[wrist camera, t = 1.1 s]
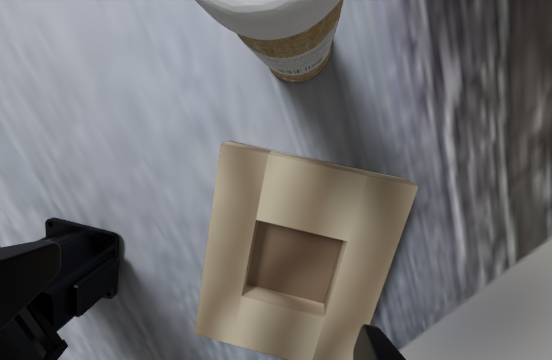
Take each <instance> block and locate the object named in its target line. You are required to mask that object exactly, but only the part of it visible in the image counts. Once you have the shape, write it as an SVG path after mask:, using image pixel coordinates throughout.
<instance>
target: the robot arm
mask: <svg viewBox="0 0 552 360" xmlns="http://www.w3.org/2000/svg"><path fill="white" fill-rule="evenodd" d="M45 227H46V237H44V238H42V239H40V240H38V241H35V242H29V243H24V244H18V245H13V246H7V247H2V248H1V247H0V360H57V359H58V358H59V357H60V356H61V354H62V353H63V352H64V351H65V349H66V348H67V347H68V345H67V343H66V342H65V340H62V339H61V338H60V336H59V335H58V333H57V331H58V330H59V329H61V328H62V327H63V326H64V325H65V324H66V323H67V322H69V321H70V320H71V319H72V318H73V317H74V316H76V317H80V316H81V315H83V314H84V313H85V312H86V311H87V310H88V309H90V308H91V307H92V306H93V305H94V304H95V303H96V302H97V301H99V300H100V299H101V298H102V297H104V298H108V299H112V298H113V297H114V296H115V295H116V294H117V283H118V263H119V260H118V251H119V237H118V235H117V234H116V233H114V232H110V231H106V230H102V229H98V228H94V227H90V226H86V225H82V224H78V223H74V222H70V221H66V220H62V219H58V218H51V219H48V220H46V223H45ZM111 238H112V239H113V240H112V239H111ZM353 360H406V359H405V358H404V357H403V356H402V354H401V353H400V352H399V351H398V350H397V348H396V347H395V346H394V345H393V344H392V343H391V341H390V340H389V339H388V338H387V337H386V335H385V334H384V333H383V332H382V331H381V330H380V329H379V328H378V327H375V326H372V325H368V324H364V325H362V327H361V329H360V332H359V334H358V337H357V340H356V343H355V346H354V350H353Z"/></svg>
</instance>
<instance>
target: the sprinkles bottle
mask: <svg viewBox="0 0 552 360" xmlns="http://www.w3.org/2000/svg"><path fill="white" fill-rule="evenodd" d="M195 1H196V2H197V3H198V4H199V5H200V6H201V7H202V8H203V9H204V10H205V11H206V12H207V13H208V14H210V15H211V16H212V17H213V18H214V19H215V20H216V21H218V22H219V23H220V24H221V25H223V26H224V27H226V28H227V29H229V30H231V31H233V32H235V33H237V35H238V36H239V38H240V39H241V40H242V41H243V42H244V43H245V44H246V45H247V46H248V47H249V48H250V49H251V50H252V51H253V52H254V53H255V54H256V56H257V57H259V58H260V59H261V60H262V61H263V62H264V63H265V64H266V65H267V66H268V67H269V68H270V69H271V71H272V72H273V73H274V74H275V75H276V76H278V77H279V78H281V79H283V80H285V81H289V82H301V81H306V80H308V79H310V78H312V77H314V76H316V75H317V74H318V73H319V72H320V71H321V69H323V68H324V66H325V65H326V63H327V61H328V59H329V57H330V54H331V48H332V40H333V37H334V34H335V31H336V28H337V24H338V21H339V18H340V13H341V8H342V4H343V0H195Z"/></svg>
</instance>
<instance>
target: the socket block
mask: <svg viewBox="0 0 552 360" xmlns="http://www.w3.org/2000/svg"><path fill="white" fill-rule="evenodd" d="M417 190H418V186H417V185H415V184H414V183H412V182H411V181H409V180H408V179H404V178H400V177H395V176H391V175H386V174H381V173H377V172H372V171H367V170H363V169H358V168H353V167H349V166H344V165H339V164H335V163H330V162H326V161H321V160H316V159H312V158H307V157H302V156H298V155H293V154H288V153H284V152H279V151H275V150H270V149H265V148H261V147H256V146H251V145H247V144H242V143H237V142H233V141H228V142H225V143H222V144H221V147H220V154H219V161H218V169H217V176H216V183H215V190H214V197H213V204H212V212H211V219H210V226H209V233H208V240H207V248H206V255H205V262H204V269H203V276H202V283H201V291H200V298H199V305H198V312H197V319H196V326H195V334H196V335H199V336H203V337H207V338H210V339H214V340H218V341H221V342H225V343H229V344H232V345H236V346H240V347H243V348H247V349H251V350H254V351H258V352H262V353H265V354H269V355H272V356H276V357H280V358H283V359H287V360H353V350H354V346H355V343H356V340H357V337H358V334H359V332H360V329H361V327H362V325H364V324H368V325H370V322H371V319H372V316H373V314H374V311H375V308H376V305H377V302H378V300H379V297H380V294H381V291H382V288H383V285H384V283H385V280H386V277H387V274H388V271H389V269H390V266H391V263H392V260H393V257H394V254H395V252H396V249H397V246H398V243H399V240H400V237H401V235H402V232H403V229H404V226H405V223H406V221H407V218H408V215H409V212H410V209H411V206H412V204H413V201H414V198H415V195H416V192H417Z"/></svg>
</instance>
